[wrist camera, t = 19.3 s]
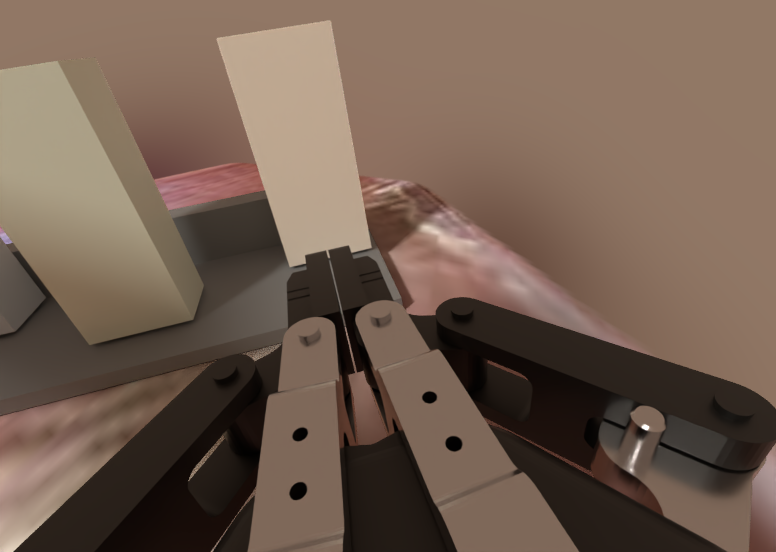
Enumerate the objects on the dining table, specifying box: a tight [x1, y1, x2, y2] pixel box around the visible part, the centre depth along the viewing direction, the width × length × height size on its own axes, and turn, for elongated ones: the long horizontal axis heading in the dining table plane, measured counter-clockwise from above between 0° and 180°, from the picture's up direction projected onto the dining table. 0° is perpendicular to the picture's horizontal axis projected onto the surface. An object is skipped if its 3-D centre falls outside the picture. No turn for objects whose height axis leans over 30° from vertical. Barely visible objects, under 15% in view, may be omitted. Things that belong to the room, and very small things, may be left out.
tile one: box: [217, 20, 372, 267], centre depth 26 cm, size 4×6×14 cm
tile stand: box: [0, 190, 403, 415], centre depth 26 cm, size 13×31×5 cm, turn 104°
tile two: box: [0, 58, 204, 345], centre depth 21 cm, size 4×6×14 cm
